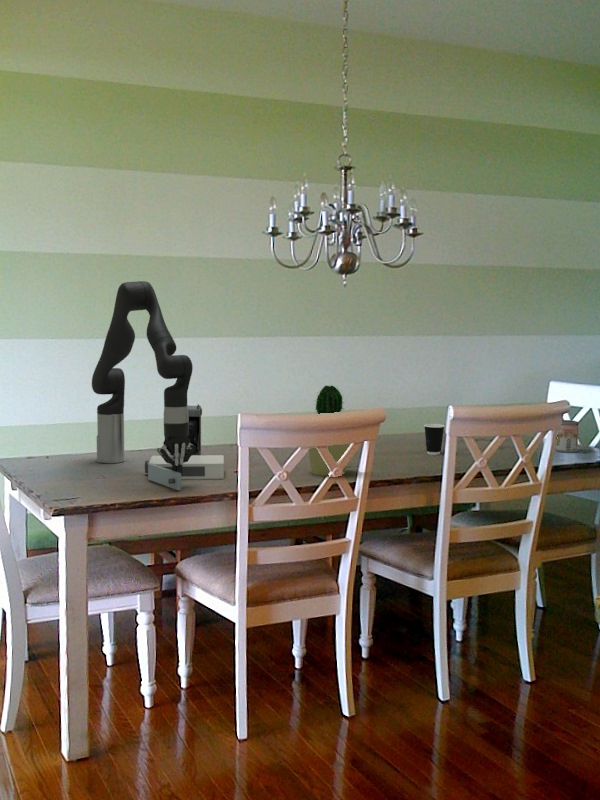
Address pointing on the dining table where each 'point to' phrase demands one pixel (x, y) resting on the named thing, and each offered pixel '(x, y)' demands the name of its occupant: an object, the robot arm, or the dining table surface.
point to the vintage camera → (195, 427)
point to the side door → (164, 476)
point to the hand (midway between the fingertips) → (177, 476)
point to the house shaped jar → (568, 437)
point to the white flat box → (195, 466)
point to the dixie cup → (434, 438)
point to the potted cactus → (327, 403)
